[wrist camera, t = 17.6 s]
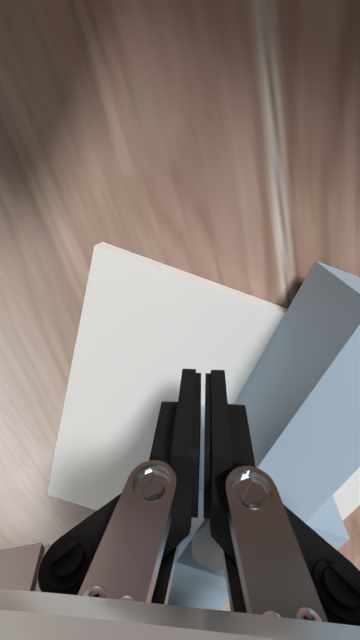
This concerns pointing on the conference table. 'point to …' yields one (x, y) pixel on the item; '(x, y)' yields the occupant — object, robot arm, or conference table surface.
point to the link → (296, 420)
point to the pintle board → (152, 372)
